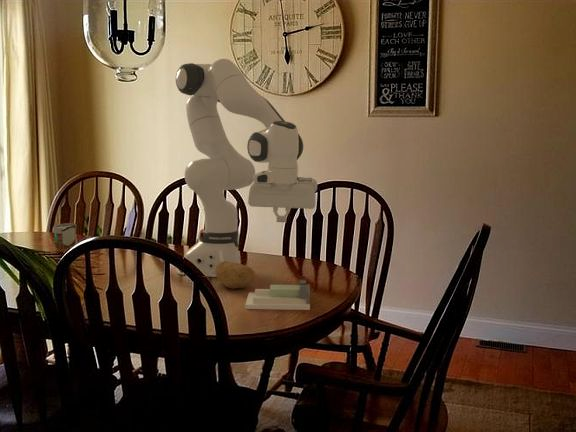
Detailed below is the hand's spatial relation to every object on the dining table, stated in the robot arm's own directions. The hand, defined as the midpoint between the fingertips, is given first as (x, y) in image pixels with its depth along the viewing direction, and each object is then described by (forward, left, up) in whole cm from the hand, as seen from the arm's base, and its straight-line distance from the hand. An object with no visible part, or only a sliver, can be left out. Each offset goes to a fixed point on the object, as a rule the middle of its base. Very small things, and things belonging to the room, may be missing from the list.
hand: (281, 221), depth 184 cm
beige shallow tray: (0, -12, -22) cm, 25 cm away
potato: (-14, +3, -22) cm, 26 cm away
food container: (-88, +52, -22) cm, 104 cm away
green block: (+2, -12, -20) cm, 24 cm away
